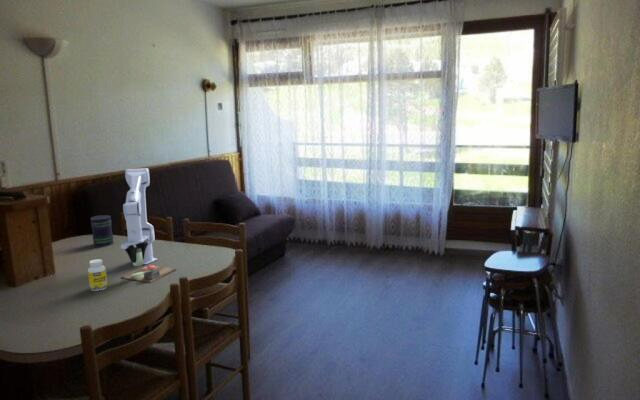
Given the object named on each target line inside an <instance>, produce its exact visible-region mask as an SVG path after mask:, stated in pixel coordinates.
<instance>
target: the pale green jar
mask: <svg viewBox="0 0 640 400" xmlns="http://www.w3.org/2000/svg"><path fill="white" fill-rule="evenodd" d="M132 265H133V266H134V267H139V266H143V265H144V264H143V258H142V248H140V247H137V251H136V263H132Z"/></svg>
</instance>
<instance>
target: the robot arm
mask: <svg viewBox="0 0 640 400" xmlns="http://www.w3.org/2000/svg"><path fill="white" fill-rule="evenodd" d="M124 174H125V176H124V177H125V181H126V183H127V185H128V187H129V190H128V191H127V192H126V197H125V203H123V205H122V210H123V215H124V219H125V222H126V223H125V225H126V231H127V240H126V241H125V242H124V243H120V249H121V250H124V251H125V252H126V253H127V255H128V258H129V260H130V263H132V264H133V263H136V251H137V247H140V248H142V258H143V264H142V265H149V264H150V263H152V262H155V261H157V260H158V258H156V257H154V251H153V242H154V241H155V239H156V238H155V229H154V225H152V224H151V223H149V222H148V218H147V216H148V215H147V199H146V198H147V197H146V190H147V187H149V186H150V184H151V182H150V181H151V180H150V169H149V168H148V167H144V168H143V167H142V168H126V169H125V173H124Z"/></svg>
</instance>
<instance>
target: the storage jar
mask: <svg viewBox="0 0 640 400" xmlns="http://www.w3.org/2000/svg"><path fill="white" fill-rule="evenodd" d="M90 225H91V230H92V241H93V246H94V247H96V248H103V247H105V248H106V247H109V246H111V245H114V235H113V231H112V219H111V215H110V214H103V215H102V214H101V215H94V216H91V217H90Z"/></svg>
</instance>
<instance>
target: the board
mask: <svg viewBox="0 0 640 400" xmlns="http://www.w3.org/2000/svg"><path fill="white" fill-rule="evenodd" d="M147 266H150V264H146V265H144V266H143V267H141V268H138V269H136V270H134V271H131V272H129V273H127V274H124V275H122V276H121V277H120V278H121V279H125V280H130V281H131V280H132V281H136V282H137V281H138V282H144V283H154V282H155V281H158V280H160V279H162V278H164V277H165V276H167V275H169V274H171V273H174V272H176V271H177V268H175V267H174V268H172V267H166V266H158V265H154V266H155V269H154V270H152V271H149V270H148V269H147Z"/></svg>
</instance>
